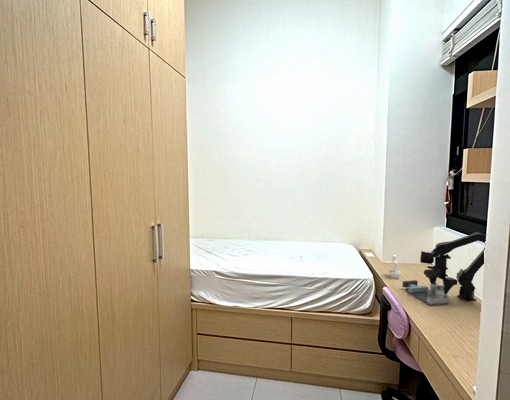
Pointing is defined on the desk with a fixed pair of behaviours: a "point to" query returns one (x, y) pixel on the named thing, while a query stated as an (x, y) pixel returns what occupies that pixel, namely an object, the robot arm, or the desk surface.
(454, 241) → the robot arm
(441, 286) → the steel block
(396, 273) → the figurine
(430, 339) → the desk surface
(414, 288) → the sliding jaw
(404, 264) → the desk surface
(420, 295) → the vise base
